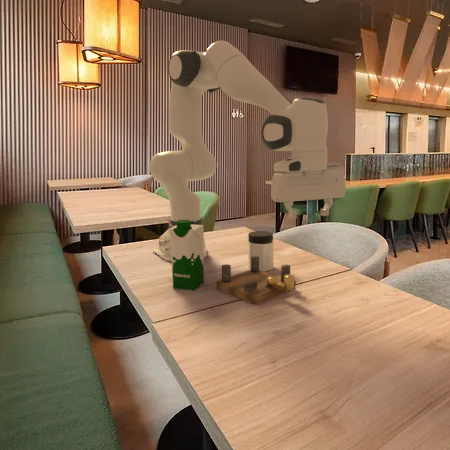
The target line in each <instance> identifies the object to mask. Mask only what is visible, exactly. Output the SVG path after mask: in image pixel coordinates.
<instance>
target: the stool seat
mask: <svg viewBox="0 0 450 450" xmlns="http://www.w3.org/2000/svg"><path fill="white" fill-rule="evenodd" d="M231 267H232V266H231V265H230V264H228V263H227V264H221V279H217V280H216V290H218V291H221V292H223V293H226V294H228V295H230V296H232V297H236V298H238V299H240V300H243V301H246V302H248V303H249V304H250V303H251V304H253V305H256V306H258V305H259V306H260V304H263V303H266V302H268V301H270V300H272V299H276V298H278V297H280V296H283V295H285V294H288V293H287V292H284V291H283V290H280V289H277V288H274V287H269V286H267V277H268V276H275V277H277V282H280V283H283V284H284V275H287V274H290V275H291V265H290V264H281V265H280V275H277V274H275V273H270V272H269V271H266V272H265V271H262V270H259V257H258V256H252V257H251V270H250V269H248V270H245V271H243V272H242V271H241V272H239V273H237V274H233V275H231V274H232V273H231V271H232V270H231ZM295 290H296V280H294V291H295Z"/></svg>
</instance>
